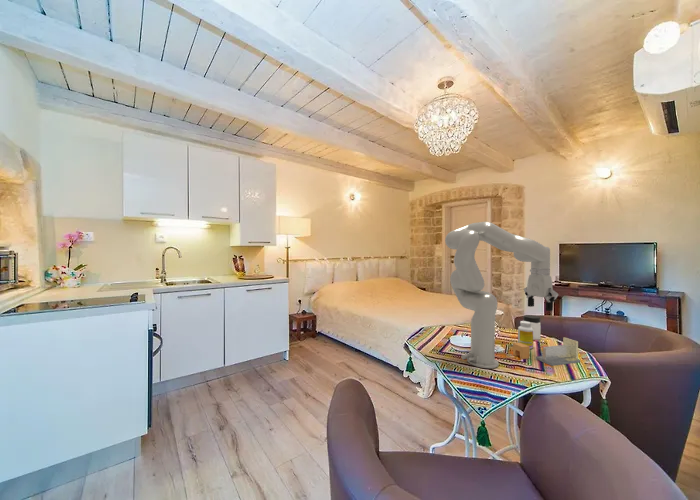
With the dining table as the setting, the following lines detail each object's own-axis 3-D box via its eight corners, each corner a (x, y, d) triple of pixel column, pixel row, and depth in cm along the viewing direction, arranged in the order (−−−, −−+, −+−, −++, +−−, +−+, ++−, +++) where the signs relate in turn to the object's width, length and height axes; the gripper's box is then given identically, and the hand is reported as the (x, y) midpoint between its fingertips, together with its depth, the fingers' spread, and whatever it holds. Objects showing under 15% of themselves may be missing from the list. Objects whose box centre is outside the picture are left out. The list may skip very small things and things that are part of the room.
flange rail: (551, 365, 122) (552, 345, 122) (535, 358, 130) (535, 339, 130) (580, 362, 126) (580, 342, 126) (562, 355, 134) (562, 336, 134)
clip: (522, 359, 130) (522, 347, 130) (512, 354, 135) (513, 343, 135) (529, 358, 131) (529, 346, 131) (519, 354, 136) (519, 342, 136)
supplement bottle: (535, 349, 142) (535, 324, 142) (520, 348, 143) (521, 323, 143) (529, 345, 148) (530, 320, 148) (516, 344, 150) (516, 320, 150)
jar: (522, 334, 168) (522, 314, 168) (539, 336, 164) (539, 315, 164) (523, 338, 160) (524, 317, 160) (541, 340, 156) (541, 319, 156)
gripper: (518, 271, 142) (518, 305, 142) (551, 274, 125) (550, 312, 125) (530, 271, 144) (530, 304, 144) (564, 274, 127) (563, 312, 127)
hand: (539, 308), depth 134 cm, fingers open, 9 cm apart
